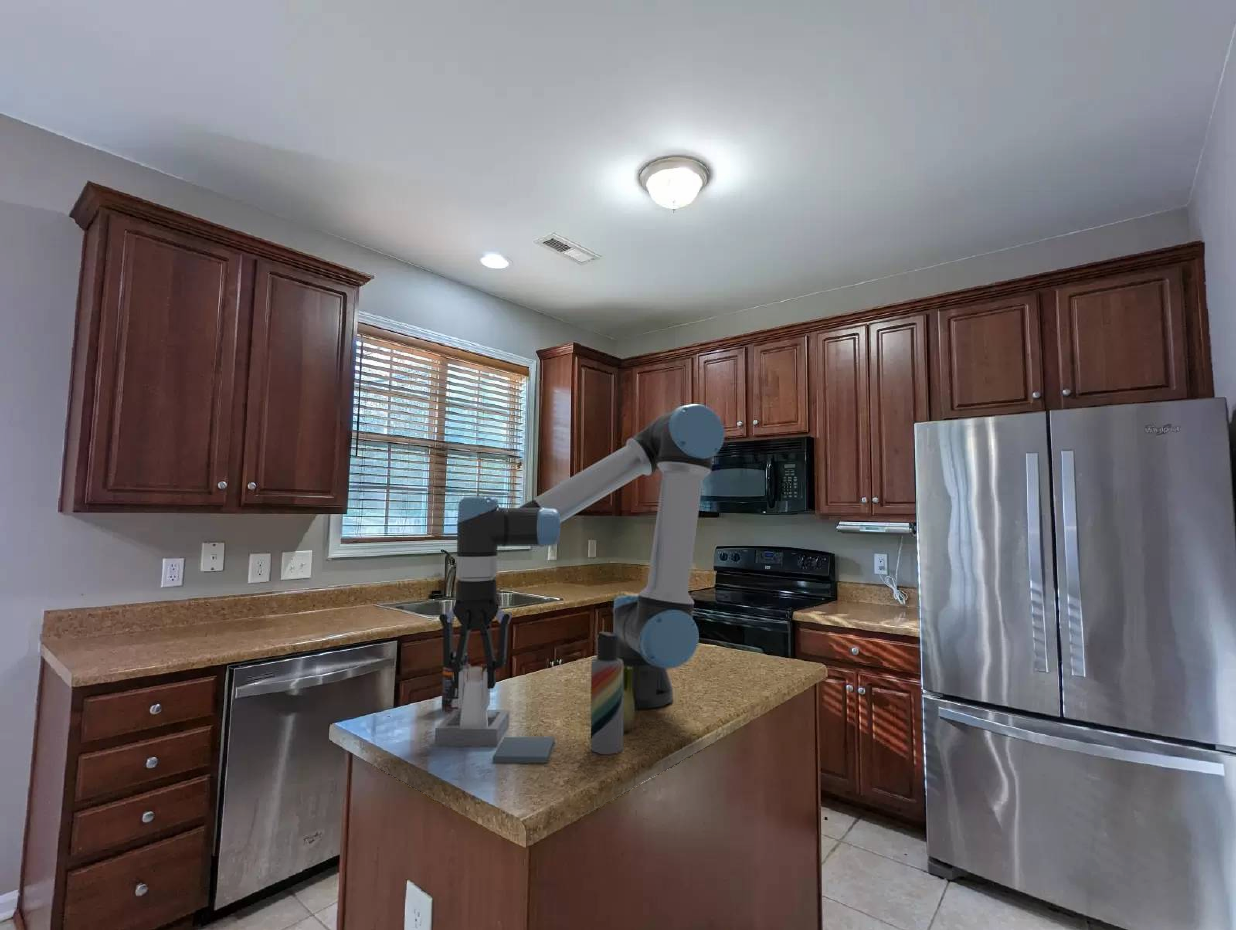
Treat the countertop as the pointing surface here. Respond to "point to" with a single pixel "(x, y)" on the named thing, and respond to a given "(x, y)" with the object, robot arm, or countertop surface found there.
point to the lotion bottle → (607, 696)
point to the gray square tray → (472, 730)
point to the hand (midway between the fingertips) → (474, 706)
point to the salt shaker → (473, 700)
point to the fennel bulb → (628, 700)
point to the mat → (524, 750)
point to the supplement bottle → (451, 687)
